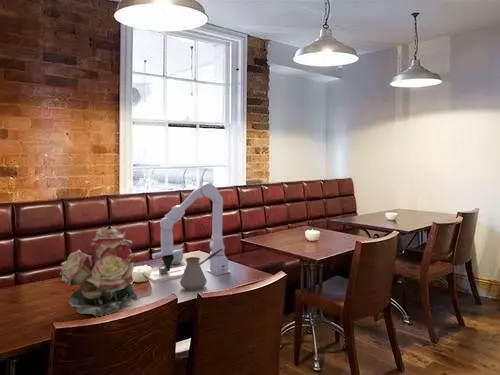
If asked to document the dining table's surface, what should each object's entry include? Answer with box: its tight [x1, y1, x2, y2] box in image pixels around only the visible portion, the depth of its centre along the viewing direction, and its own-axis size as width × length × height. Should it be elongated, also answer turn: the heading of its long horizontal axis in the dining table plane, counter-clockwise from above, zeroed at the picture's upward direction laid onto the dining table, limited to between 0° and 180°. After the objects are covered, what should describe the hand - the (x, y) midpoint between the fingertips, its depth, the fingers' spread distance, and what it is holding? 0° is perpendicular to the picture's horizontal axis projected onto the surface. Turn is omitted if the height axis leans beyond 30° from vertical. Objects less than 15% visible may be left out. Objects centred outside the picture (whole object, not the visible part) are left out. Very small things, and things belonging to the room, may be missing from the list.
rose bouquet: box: [59, 227, 139, 318], centre depth 159 cm, size 26×29×30 cm
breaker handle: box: [158, 266, 168, 275], centre depth 194 cm, size 3×3×3 cm
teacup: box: [171, 246, 184, 265], centre depth 215 cm, size 14×11×8 cm
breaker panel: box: [149, 265, 186, 283], centre depth 196 cm, size 12×22×1 cm, turn 125°
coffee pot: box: [179, 249, 225, 292], centre depth 180 cm, size 21×12×15 cm, turn 127°
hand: (167, 270), depth 195 cm, fingers closed
